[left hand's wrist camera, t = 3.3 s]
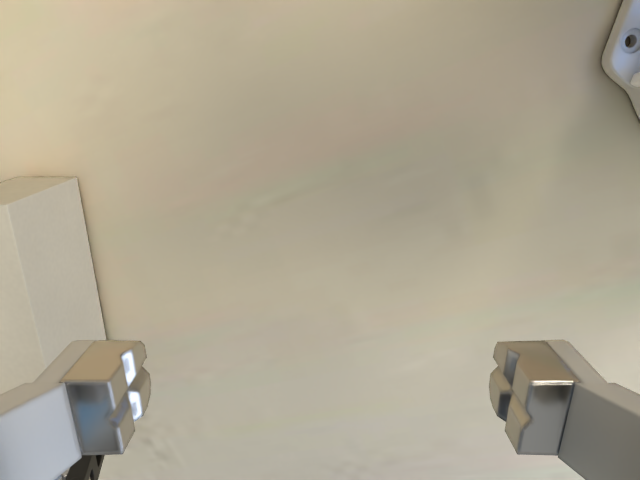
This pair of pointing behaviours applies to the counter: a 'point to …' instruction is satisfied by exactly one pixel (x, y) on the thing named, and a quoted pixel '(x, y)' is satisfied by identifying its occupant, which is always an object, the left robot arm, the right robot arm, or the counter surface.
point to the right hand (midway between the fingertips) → (63, 399)
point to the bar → (43, 276)
